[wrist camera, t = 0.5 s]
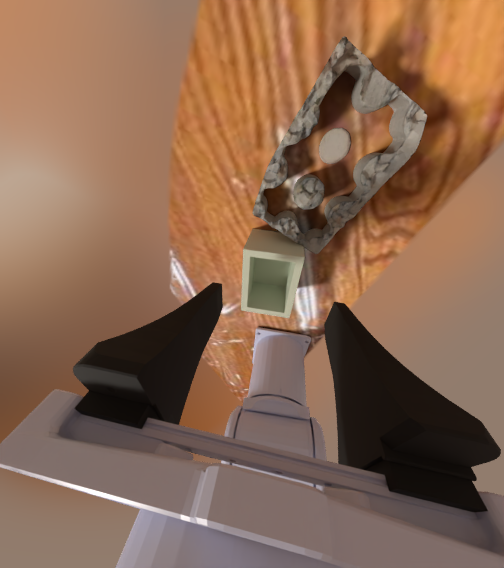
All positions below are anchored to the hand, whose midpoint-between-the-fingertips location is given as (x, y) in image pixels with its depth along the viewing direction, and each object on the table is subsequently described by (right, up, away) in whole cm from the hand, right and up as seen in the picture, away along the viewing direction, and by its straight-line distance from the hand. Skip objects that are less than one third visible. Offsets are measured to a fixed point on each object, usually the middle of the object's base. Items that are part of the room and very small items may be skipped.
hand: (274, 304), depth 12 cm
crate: (+1, +4, +9) cm, 10 cm away
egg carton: (+4, +11, +4) cm, 12 cm away
